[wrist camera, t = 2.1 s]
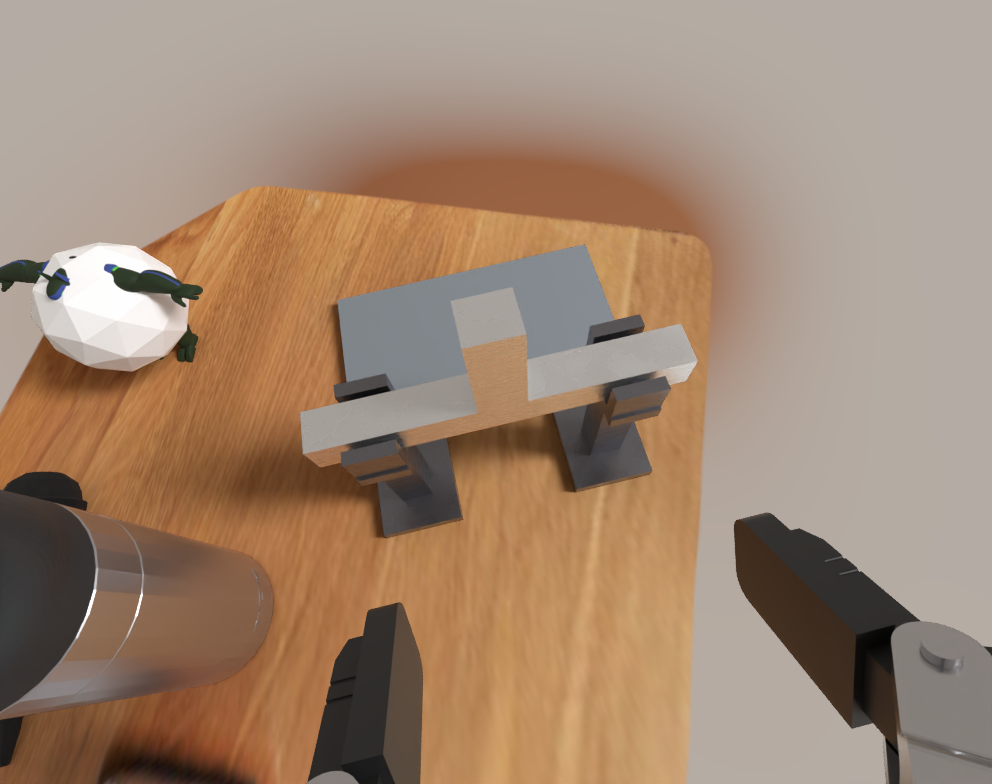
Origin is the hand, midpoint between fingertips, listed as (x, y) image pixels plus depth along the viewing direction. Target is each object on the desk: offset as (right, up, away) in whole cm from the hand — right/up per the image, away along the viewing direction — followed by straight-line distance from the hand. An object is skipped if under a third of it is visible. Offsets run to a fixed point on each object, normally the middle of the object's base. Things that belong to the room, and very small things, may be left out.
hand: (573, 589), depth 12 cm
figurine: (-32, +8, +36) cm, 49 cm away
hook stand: (-1, -1, +30) cm, 30 cm away
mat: (-4, +10, +35) cm, 37 cm away
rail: (-2, +4, +19) cm, 19 cm away
